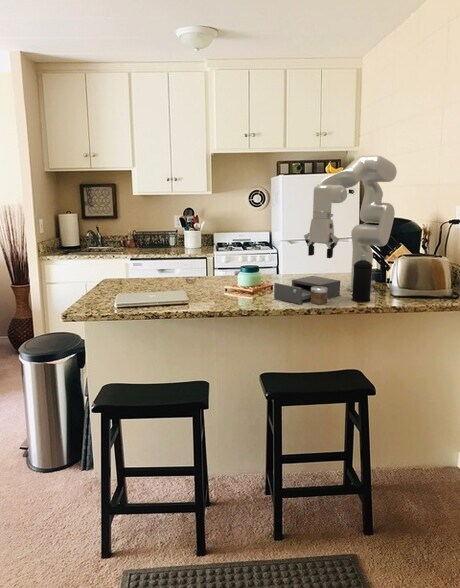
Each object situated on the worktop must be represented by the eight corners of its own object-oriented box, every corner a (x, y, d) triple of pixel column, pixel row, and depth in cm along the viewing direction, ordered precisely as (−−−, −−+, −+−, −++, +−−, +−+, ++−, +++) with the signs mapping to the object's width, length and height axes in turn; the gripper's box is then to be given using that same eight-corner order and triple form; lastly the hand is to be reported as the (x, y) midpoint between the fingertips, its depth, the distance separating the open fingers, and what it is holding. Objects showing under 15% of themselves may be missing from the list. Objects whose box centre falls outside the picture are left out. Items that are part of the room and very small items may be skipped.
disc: (317, 289, 227) (317, 285, 227) (330, 291, 222) (330, 288, 222) (307, 291, 222) (307, 287, 222) (320, 294, 217) (320, 290, 217)
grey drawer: (296, 293, 240) (296, 278, 239) (322, 298, 230) (323, 283, 228) (273, 298, 230) (273, 283, 228) (299, 304, 219) (300, 288, 218)
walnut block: (317, 300, 227) (318, 289, 226) (326, 302, 223) (327, 291, 222) (310, 302, 223) (310, 291, 222) (319, 304, 220) (320, 293, 219)
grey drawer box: (312, 290, 249) (312, 275, 248) (339, 295, 238) (340, 280, 236) (291, 294, 239) (291, 279, 237) (319, 300, 228) (319, 285, 226)
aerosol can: (374, 301, 227) (377, 256, 223) (360, 303, 223) (363, 257, 219) (361, 297, 234) (363, 253, 230) (347, 299, 230) (349, 254, 226)
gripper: (344, 216, 211) (342, 258, 215) (311, 214, 224) (309, 253, 227) (333, 217, 206) (331, 259, 210) (300, 215, 219) (298, 255, 222)
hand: (320, 256), depth 219 cm, fingers open, 9 cm apart
